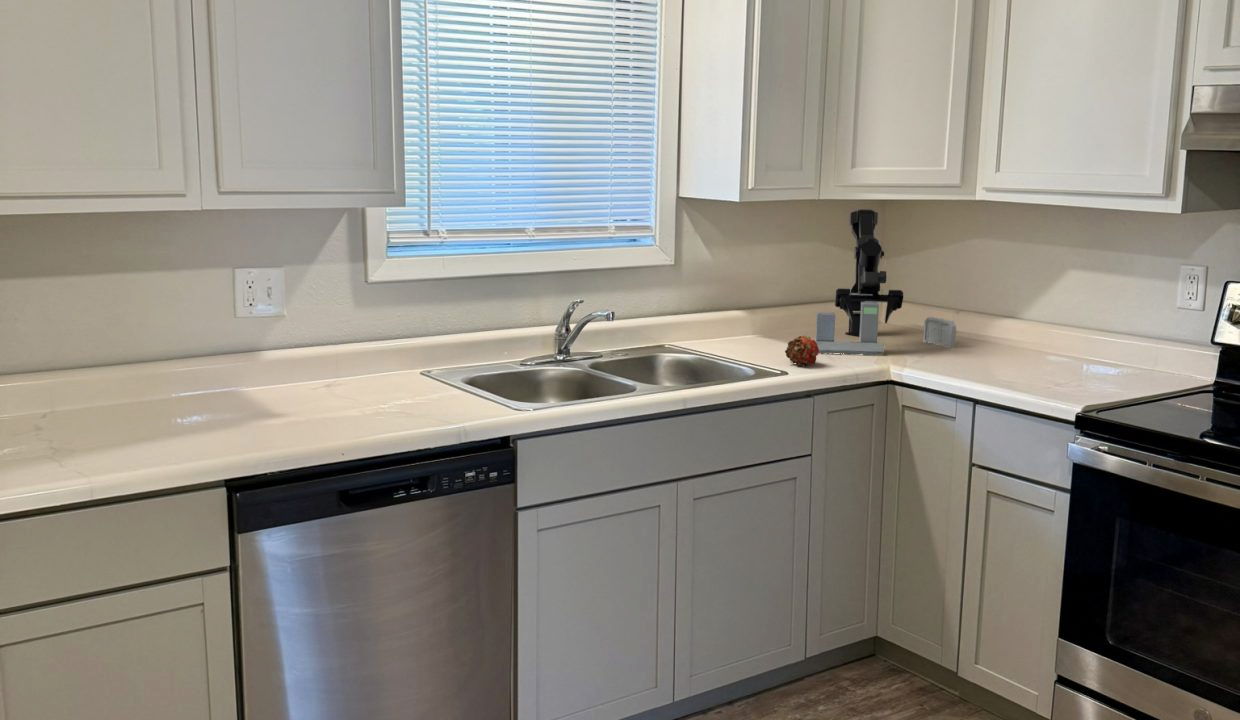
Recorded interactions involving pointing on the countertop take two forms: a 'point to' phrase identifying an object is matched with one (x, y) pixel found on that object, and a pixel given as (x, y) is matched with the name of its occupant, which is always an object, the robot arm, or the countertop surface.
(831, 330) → the rail
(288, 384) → the countertop surface
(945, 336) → the light switch
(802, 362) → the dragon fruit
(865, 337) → the block
